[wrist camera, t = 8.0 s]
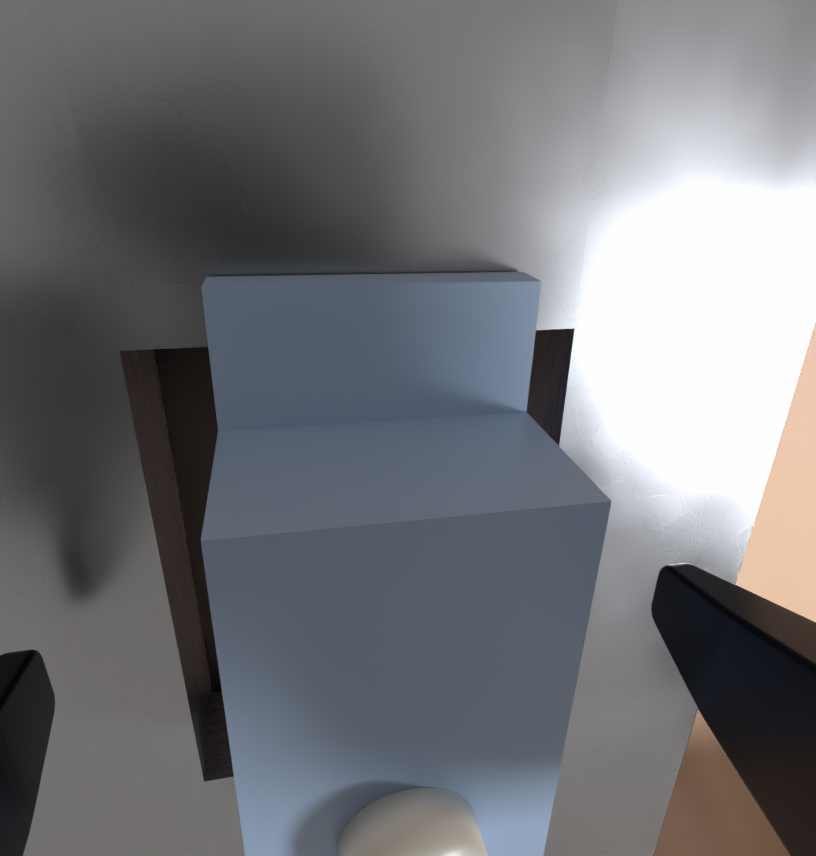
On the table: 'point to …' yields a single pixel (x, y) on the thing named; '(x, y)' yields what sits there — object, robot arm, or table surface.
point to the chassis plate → (387, 254)
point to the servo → (392, 563)
